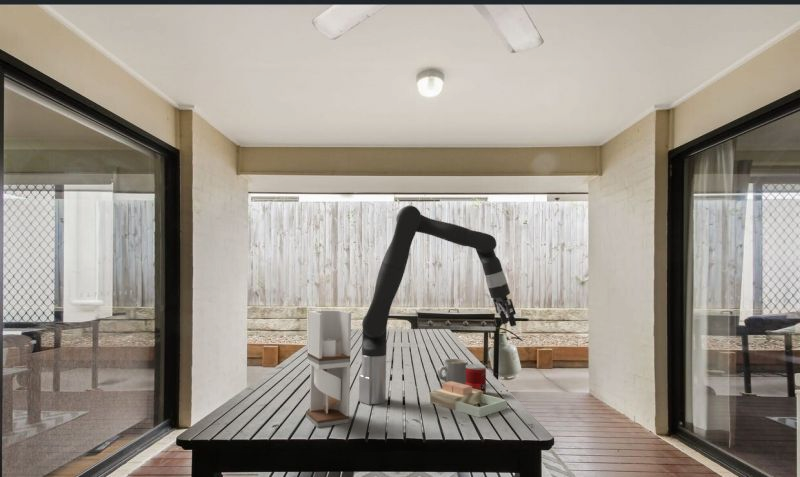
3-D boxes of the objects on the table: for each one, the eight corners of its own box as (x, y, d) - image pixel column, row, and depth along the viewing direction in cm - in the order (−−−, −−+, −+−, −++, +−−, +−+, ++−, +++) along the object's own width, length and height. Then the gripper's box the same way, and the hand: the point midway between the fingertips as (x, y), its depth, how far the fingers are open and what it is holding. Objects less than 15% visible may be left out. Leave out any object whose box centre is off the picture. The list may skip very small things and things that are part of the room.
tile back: (452, 392, 172) (452, 385, 172) (442, 389, 175) (442, 383, 176) (461, 390, 175) (461, 383, 175) (451, 387, 179) (451, 381, 179)
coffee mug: (463, 381, 206) (463, 358, 207) (470, 387, 196) (470, 363, 197) (434, 382, 204) (434, 359, 204) (440, 388, 194) (440, 363, 194)
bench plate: (454, 410, 163) (454, 398, 164) (430, 402, 172) (430, 391, 172) (482, 401, 174) (482, 391, 174) (458, 395, 183) (458, 384, 183)
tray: (479, 417, 155) (479, 408, 156) (455, 410, 163) (455, 401, 164) (506, 408, 166) (506, 400, 166) (482, 402, 174) (482, 393, 174)
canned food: (485, 397, 181) (485, 368, 182) (465, 395, 182) (465, 367, 183) (486, 392, 188) (486, 364, 189) (466, 390, 190) (466, 363, 191)
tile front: (463, 395, 168) (463, 388, 168) (452, 392, 171) (452, 385, 172) (472, 393, 171) (472, 386, 171) (461, 390, 175) (461, 383, 175)
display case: (306, 417, 154) (308, 311, 156) (336, 412, 159) (338, 310, 161) (317, 427, 144) (320, 314, 146) (349, 422, 149) (351, 312, 151)
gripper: (482, 286, 186) (494, 325, 185) (494, 287, 172) (507, 329, 171) (499, 281, 187) (511, 320, 187) (513, 281, 173) (525, 323, 173)
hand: (509, 324), depth 179 cm, fingers open, 8 cm apart
